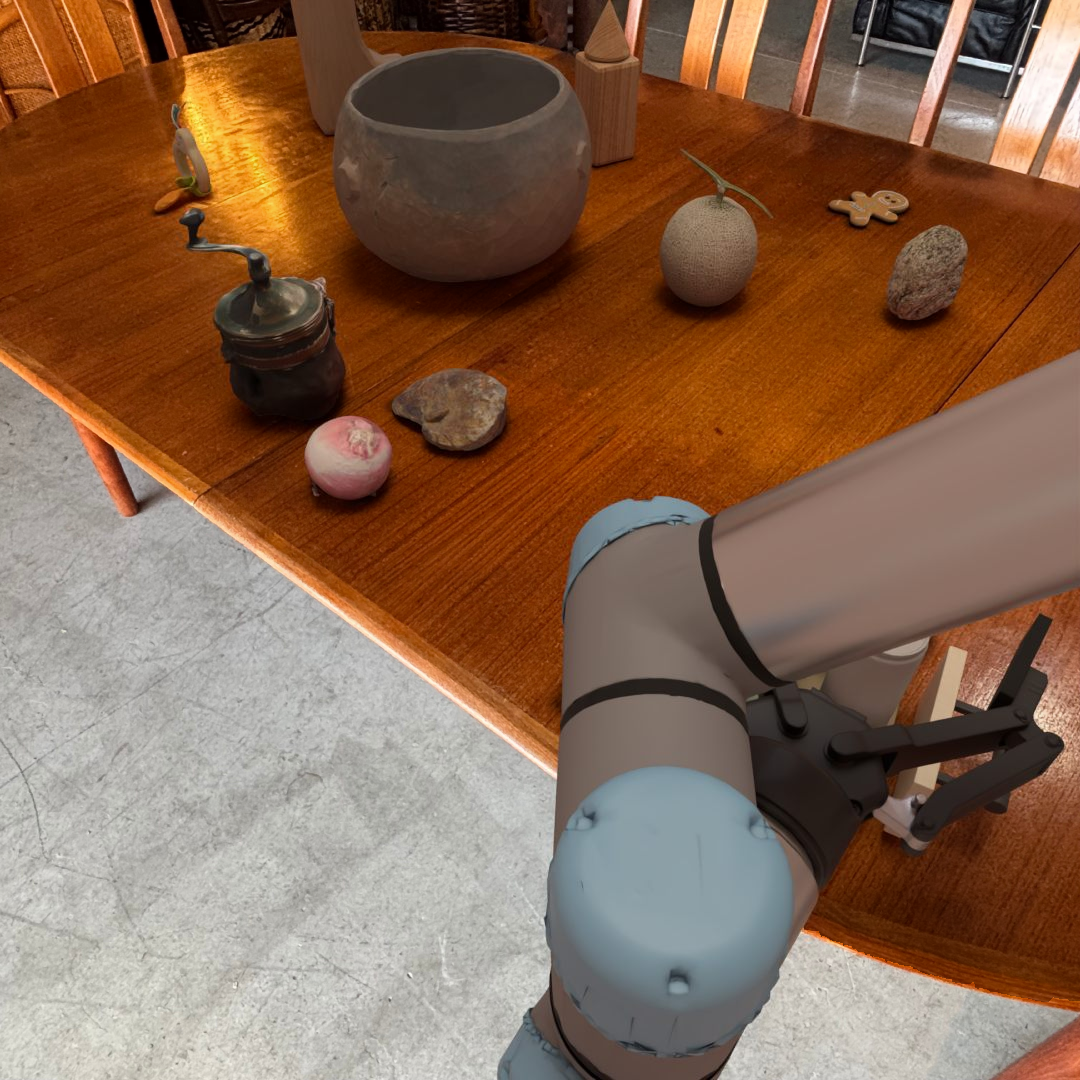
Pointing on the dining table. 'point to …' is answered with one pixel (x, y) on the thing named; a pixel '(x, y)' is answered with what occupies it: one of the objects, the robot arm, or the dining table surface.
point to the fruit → (710, 246)
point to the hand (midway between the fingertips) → (922, 575)
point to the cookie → (871, 207)
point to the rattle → (186, 165)
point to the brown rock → (455, 408)
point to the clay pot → (462, 162)
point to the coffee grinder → (276, 336)
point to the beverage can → (875, 682)
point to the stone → (927, 273)
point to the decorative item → (608, 90)
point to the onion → (348, 458)
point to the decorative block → (331, 55)
